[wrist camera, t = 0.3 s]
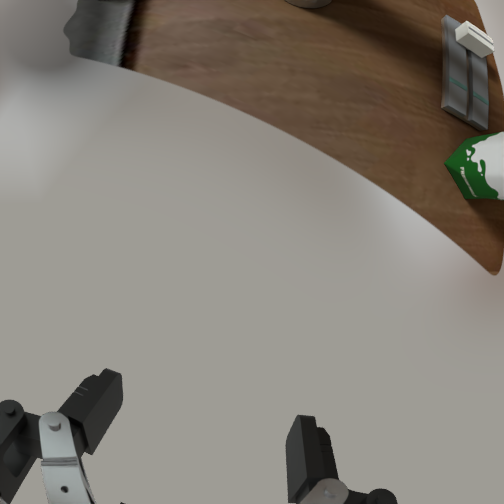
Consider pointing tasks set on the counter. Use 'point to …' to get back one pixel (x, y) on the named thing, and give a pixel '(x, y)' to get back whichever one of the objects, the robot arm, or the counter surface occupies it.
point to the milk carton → (479, 167)
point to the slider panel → (463, 79)
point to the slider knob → (474, 39)
